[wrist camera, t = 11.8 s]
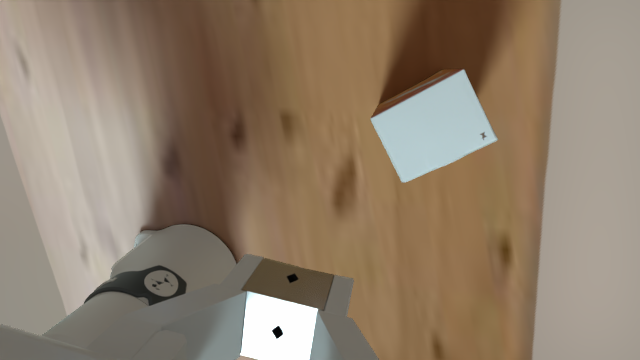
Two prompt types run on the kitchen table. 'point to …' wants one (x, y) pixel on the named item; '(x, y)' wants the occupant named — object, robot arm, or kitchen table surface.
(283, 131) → the kitchen table surface
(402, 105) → the small box
